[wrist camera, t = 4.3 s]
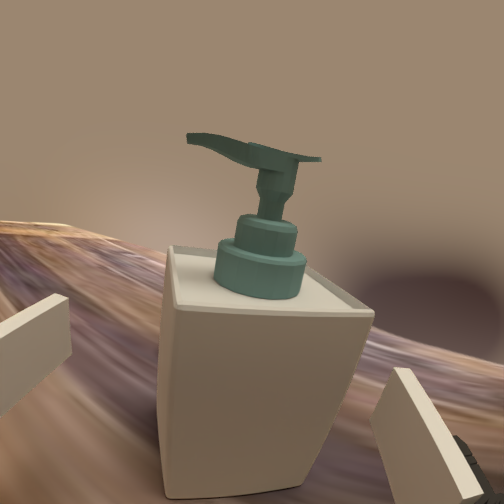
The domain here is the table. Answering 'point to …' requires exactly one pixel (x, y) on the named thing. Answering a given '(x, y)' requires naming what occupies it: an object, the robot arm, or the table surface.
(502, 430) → the table surface
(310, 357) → the soap bottle
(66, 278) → the table surface
